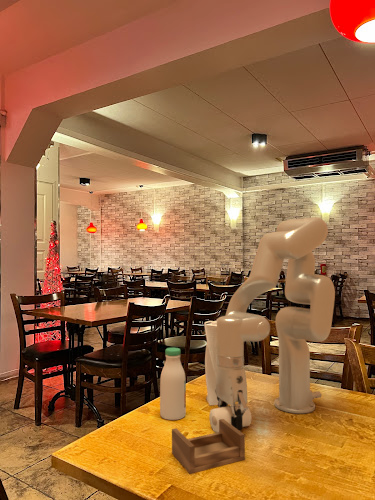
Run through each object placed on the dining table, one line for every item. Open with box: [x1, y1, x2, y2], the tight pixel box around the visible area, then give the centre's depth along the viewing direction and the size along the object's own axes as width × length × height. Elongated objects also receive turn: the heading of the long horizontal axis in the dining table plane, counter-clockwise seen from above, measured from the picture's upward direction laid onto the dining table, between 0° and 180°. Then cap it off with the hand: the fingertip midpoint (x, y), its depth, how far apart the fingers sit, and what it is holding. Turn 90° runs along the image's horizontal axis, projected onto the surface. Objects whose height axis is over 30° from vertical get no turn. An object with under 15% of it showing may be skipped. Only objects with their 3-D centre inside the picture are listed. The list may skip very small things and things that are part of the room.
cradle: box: [171, 419, 246, 475], centre depth 94 cm, size 14×10×6 cm
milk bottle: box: [159, 347, 187, 421], centre depth 118 cm, size 8×8×20 cm
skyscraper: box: [203, 318, 218, 406], centre depth 129 cm, size 8×8×28 cm
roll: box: [209, 405, 252, 433], centre depth 109 cm, size 10×6×6 cm, turn 115°
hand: (230, 425), depth 109 cm, fingers closed on roll, 6 cm apart
